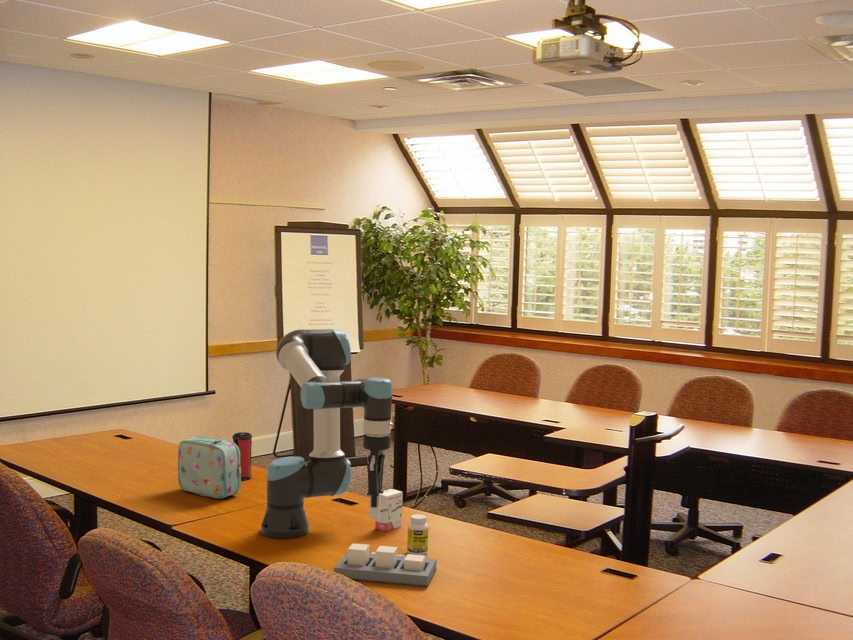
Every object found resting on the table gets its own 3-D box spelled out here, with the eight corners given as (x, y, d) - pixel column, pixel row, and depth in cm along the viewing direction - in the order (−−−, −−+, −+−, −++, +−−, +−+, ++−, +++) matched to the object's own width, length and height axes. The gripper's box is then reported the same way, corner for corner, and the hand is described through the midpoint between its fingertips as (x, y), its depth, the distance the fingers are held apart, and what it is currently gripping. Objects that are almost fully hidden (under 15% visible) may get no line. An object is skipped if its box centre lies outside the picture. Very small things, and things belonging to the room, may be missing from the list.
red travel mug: (249, 481, 337) (249, 435, 336) (229, 480, 337) (230, 435, 336) (253, 476, 345) (254, 432, 344) (234, 475, 345) (235, 431, 344)
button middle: (375, 567, 236) (375, 551, 236) (379, 561, 241) (380, 545, 241) (393, 568, 235) (393, 552, 235) (397, 562, 240) (397, 547, 240)
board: (333, 578, 234) (334, 567, 233) (347, 561, 247) (348, 551, 247) (427, 587, 229) (427, 576, 229) (436, 569, 243) (436, 559, 242)
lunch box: (246, 496, 314) (247, 439, 313) (225, 503, 305) (226, 443, 304) (195, 485, 328) (196, 430, 327) (174, 491, 319) (175, 434, 318)
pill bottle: (412, 557, 253) (413, 520, 252) (403, 550, 258) (404, 514, 257) (431, 554, 256) (432, 518, 255) (421, 548, 261) (422, 512, 260)
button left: (347, 564, 237) (347, 548, 237) (352, 558, 242) (352, 543, 242) (364, 566, 236) (365, 550, 236) (369, 560, 241) (369, 544, 241)
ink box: (385, 532, 276) (386, 496, 275) (374, 529, 279) (374, 493, 278) (402, 526, 283) (403, 491, 282) (391, 523, 286) (392, 488, 285)
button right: (403, 576, 235) (404, 559, 234) (407, 569, 239) (407, 554, 239) (421, 577, 234) (421, 561, 233) (424, 571, 239) (425, 555, 238)
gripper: (385, 439, 230) (383, 525, 232) (394, 430, 243) (392, 511, 244) (358, 438, 231) (355, 523, 233) (368, 428, 244) (366, 509, 245)
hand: (374, 517), depth 239 cm, fingers closed
